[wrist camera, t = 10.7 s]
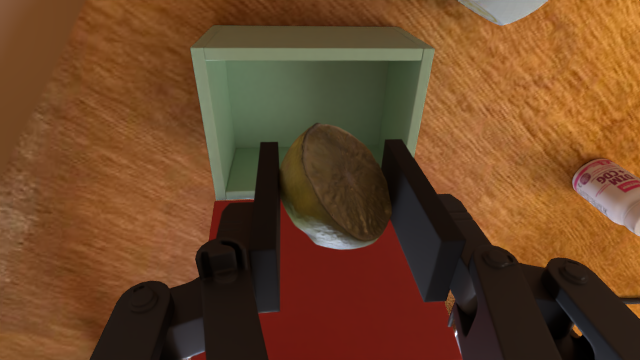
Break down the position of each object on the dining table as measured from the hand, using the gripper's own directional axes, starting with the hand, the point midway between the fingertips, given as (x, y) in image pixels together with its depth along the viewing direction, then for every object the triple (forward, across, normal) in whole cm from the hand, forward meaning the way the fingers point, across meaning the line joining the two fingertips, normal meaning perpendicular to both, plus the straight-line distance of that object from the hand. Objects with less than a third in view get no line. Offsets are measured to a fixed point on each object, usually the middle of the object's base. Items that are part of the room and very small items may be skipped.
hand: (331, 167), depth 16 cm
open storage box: (+18, 0, +3) cm, 18 cm away
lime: (+1, 0, 0) cm, 1 cm away
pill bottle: (+18, -33, +13) cm, 40 cm away
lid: (+3, 0, +10) cm, 10 cm away
